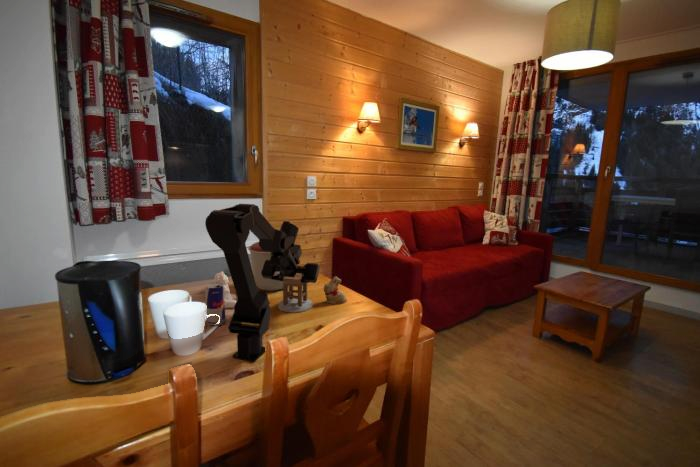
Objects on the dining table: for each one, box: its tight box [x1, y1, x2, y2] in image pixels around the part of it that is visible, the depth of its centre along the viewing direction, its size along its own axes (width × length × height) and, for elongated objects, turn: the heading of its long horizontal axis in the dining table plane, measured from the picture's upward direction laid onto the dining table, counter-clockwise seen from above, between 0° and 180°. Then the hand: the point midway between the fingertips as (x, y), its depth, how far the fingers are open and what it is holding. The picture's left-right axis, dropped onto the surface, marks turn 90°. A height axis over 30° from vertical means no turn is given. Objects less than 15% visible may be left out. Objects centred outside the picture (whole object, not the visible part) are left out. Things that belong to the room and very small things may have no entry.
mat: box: [277, 297, 314, 314], centre depth 117 cm, size 12×12×1 cm
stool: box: [282, 273, 308, 307], centre depth 116 cm, size 6×6×10 cm
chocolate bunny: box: [323, 275, 348, 305], centre depth 121 cm, size 6×8×10 cm
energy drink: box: [204, 282, 227, 326], centre depth 102 cm, size 5×5×12 cm
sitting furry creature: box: [214, 271, 237, 309], centre depth 115 cm, size 10×9×12 cm
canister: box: [247, 241, 283, 292], centre depth 133 cm, size 18×18×21 cm
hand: (296, 282), depth 117 cm, fingers closed on stool, 6 cm apart
